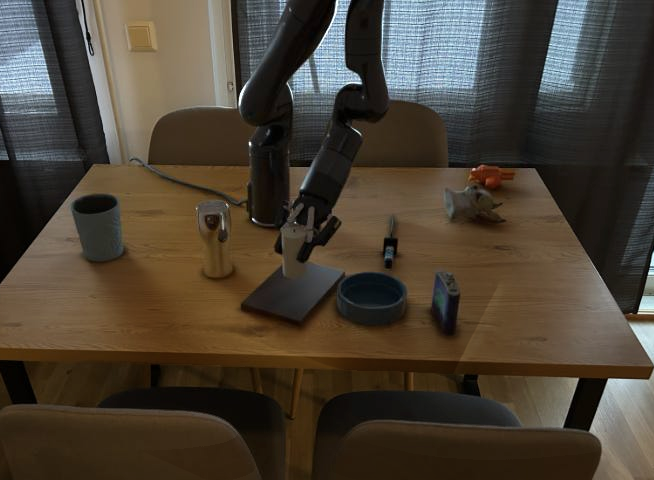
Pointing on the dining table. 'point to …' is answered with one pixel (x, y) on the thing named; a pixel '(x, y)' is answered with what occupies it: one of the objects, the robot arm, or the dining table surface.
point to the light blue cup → (98, 226)
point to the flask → (445, 301)
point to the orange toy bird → (490, 175)
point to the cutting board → (293, 294)
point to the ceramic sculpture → (472, 204)
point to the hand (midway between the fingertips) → (289, 257)
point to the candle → (293, 252)
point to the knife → (390, 249)
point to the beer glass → (215, 237)
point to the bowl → (371, 298)
